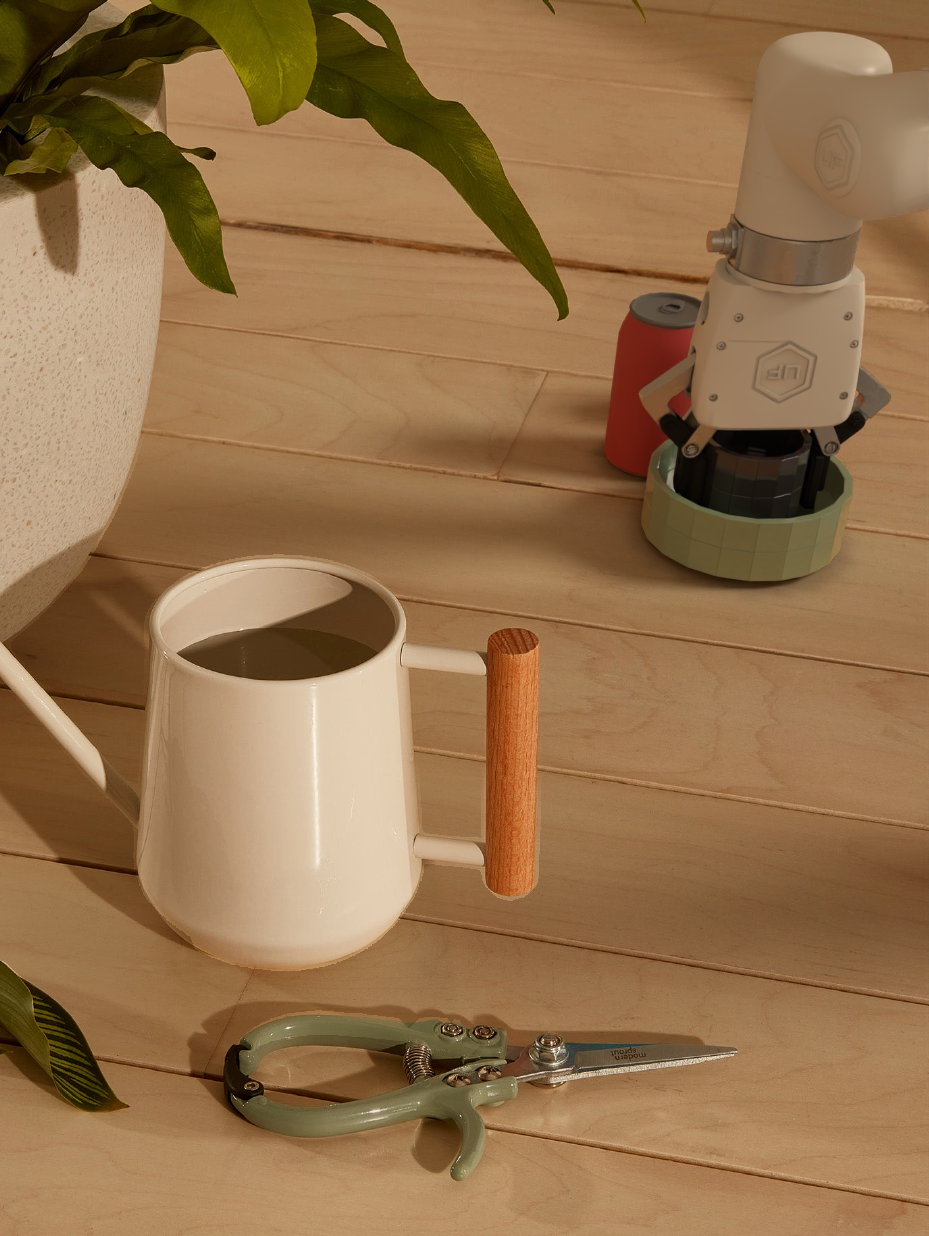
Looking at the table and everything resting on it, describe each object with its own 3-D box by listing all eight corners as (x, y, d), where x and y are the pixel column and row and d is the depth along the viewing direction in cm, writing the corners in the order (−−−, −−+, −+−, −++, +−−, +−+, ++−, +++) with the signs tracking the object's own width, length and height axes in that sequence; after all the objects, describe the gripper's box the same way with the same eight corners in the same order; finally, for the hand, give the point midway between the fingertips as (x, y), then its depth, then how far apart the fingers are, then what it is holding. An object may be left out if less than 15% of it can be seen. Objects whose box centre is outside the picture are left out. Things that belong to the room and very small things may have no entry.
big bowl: (808, 487, 124) (821, 425, 121) (863, 587, 113) (879, 521, 110) (624, 490, 124) (632, 427, 121) (662, 590, 113) (672, 524, 110)
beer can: (707, 453, 128) (733, 301, 121) (672, 490, 124) (696, 335, 116) (625, 431, 131) (645, 281, 124) (587, 466, 127) (606, 313, 120)
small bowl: (780, 487, 120) (795, 409, 117) (807, 539, 115) (825, 459, 111) (679, 489, 120) (692, 411, 117) (702, 541, 115) (716, 461, 111)
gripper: (663, 274, 103) (626, 530, 114) (954, 270, 103) (890, 526, 114) (638, 227, 109) (606, 474, 120) (913, 223, 109) (857, 471, 120)
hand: (745, 498), depth 117 cm, fingers closed on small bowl, 7 cm apart
